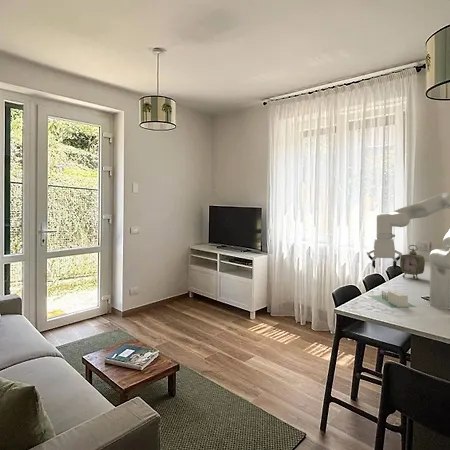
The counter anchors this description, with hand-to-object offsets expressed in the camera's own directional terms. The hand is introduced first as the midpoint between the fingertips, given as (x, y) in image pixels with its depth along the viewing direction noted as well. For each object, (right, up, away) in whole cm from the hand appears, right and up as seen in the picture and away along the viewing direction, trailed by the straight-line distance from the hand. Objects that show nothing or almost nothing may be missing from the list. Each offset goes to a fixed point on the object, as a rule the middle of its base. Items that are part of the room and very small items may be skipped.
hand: (384, 268), depth 185 cm
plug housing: (+9, -20, +4) cm, 23 cm away
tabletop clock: (+55, -17, +73) cm, 93 cm away
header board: (+9, -21, +10) cm, 25 cm away
